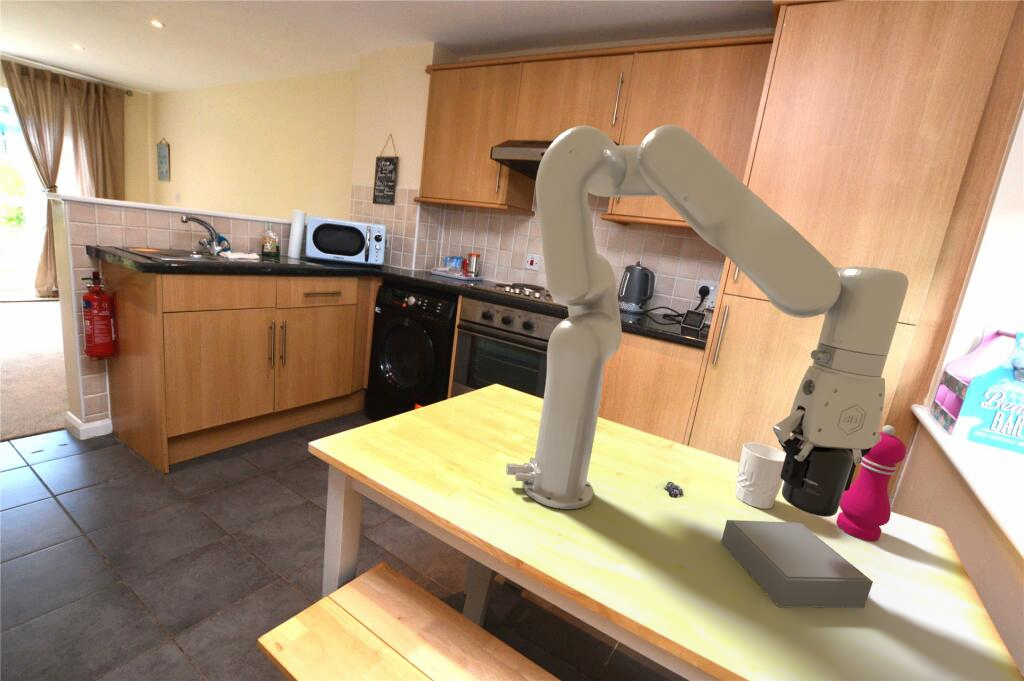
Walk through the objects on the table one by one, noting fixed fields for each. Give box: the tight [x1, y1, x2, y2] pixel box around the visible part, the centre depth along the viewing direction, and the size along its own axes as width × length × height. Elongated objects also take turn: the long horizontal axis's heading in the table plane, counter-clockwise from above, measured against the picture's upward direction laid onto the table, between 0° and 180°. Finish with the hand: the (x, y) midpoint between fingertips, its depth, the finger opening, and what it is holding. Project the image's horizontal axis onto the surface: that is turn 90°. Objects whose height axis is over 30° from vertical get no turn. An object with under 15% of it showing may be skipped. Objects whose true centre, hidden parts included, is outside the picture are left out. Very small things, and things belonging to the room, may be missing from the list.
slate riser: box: [720, 519, 874, 608], centre depth 67 cm, size 13×13×4 cm
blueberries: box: [655, 481, 684, 499], centre depth 87 cm, size 7×8×2 cm
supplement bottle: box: [781, 440, 854, 518], centre depth 63 cm, size 7×7×12 cm
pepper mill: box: [836, 424, 907, 542], centre depth 79 cm, size 7×7×20 cm
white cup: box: [734, 441, 786, 510], centre depth 87 cm, size 8×8×10 cm
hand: (813, 483), depth 64 cm, fingers closed on supplement bottle, 6 cm apart
